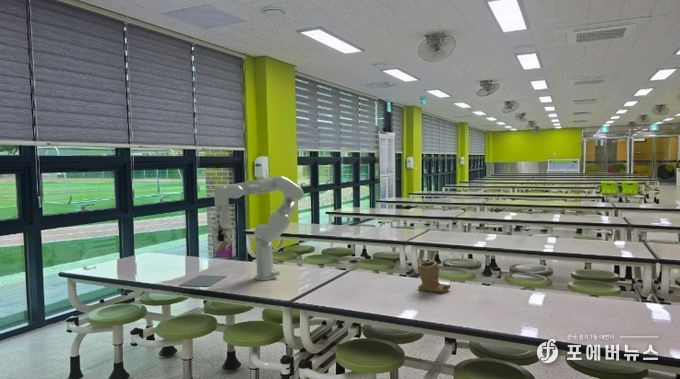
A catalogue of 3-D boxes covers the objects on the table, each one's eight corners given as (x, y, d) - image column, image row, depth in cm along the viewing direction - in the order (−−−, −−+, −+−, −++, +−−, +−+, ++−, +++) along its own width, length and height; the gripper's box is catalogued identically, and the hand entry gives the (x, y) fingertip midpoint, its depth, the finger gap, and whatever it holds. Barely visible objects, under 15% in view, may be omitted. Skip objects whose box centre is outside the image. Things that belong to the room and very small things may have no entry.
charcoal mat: (226, 276, 271) (226, 275, 271) (208, 286, 250) (208, 286, 250) (199, 276, 275) (199, 275, 275) (179, 286, 254) (179, 285, 254)
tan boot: (413, 292, 228) (413, 262, 227) (423, 286, 238) (422, 258, 237) (442, 296, 219) (442, 265, 218) (451, 289, 229) (450, 260, 228)
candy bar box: (213, 257, 251) (211, 228, 250) (216, 255, 256) (215, 227, 255) (232, 257, 250) (231, 228, 249) (235, 255, 255) (234, 226, 254)
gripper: (221, 209, 242) (222, 243, 243) (234, 206, 259) (236, 237, 260) (208, 209, 244) (210, 243, 245) (222, 206, 260) (224, 237, 261)
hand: (223, 239), depth 252 cm, fingers closed on candy bar box, 5 cm apart
